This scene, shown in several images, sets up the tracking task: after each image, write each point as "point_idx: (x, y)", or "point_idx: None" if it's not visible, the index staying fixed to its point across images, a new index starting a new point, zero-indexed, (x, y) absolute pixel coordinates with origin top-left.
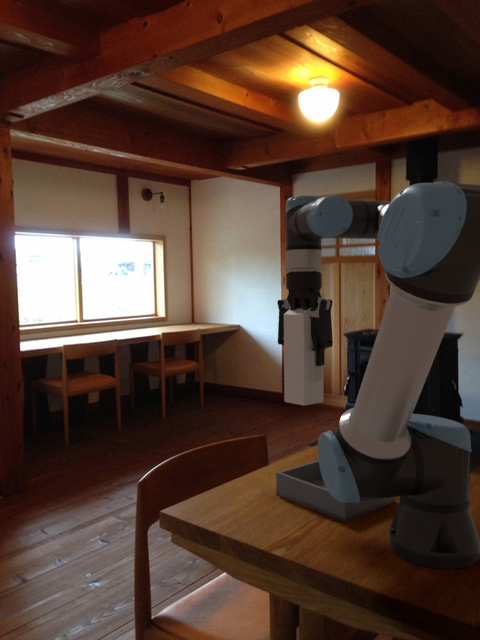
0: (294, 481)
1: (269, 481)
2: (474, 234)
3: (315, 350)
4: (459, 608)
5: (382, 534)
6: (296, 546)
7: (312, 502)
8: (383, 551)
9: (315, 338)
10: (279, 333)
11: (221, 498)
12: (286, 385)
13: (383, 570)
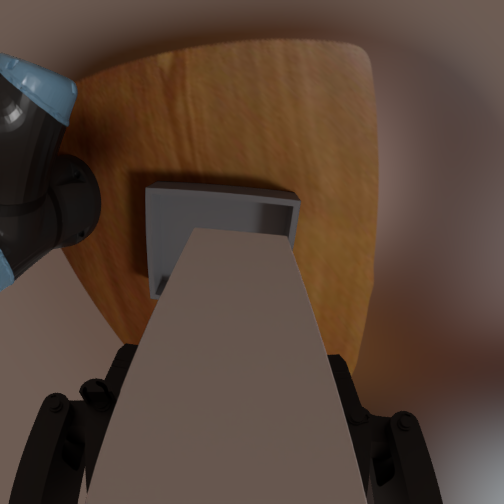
0: (254, 194)
1: (337, 229)
2: None
3: (95, 382)
4: None
5: (110, 187)
6: (158, 83)
7: (215, 186)
8: (88, 153)
9: (90, 449)
10: (421, 463)
11: (347, 126)
12: (282, 258)
13: (70, 121)
